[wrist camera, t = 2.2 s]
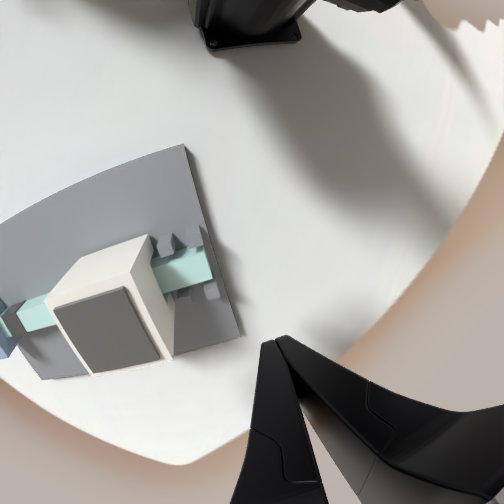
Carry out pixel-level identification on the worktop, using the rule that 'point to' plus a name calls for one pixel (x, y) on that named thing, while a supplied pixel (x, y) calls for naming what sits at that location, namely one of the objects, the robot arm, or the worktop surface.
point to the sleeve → (115, 310)
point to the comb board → (103, 236)
